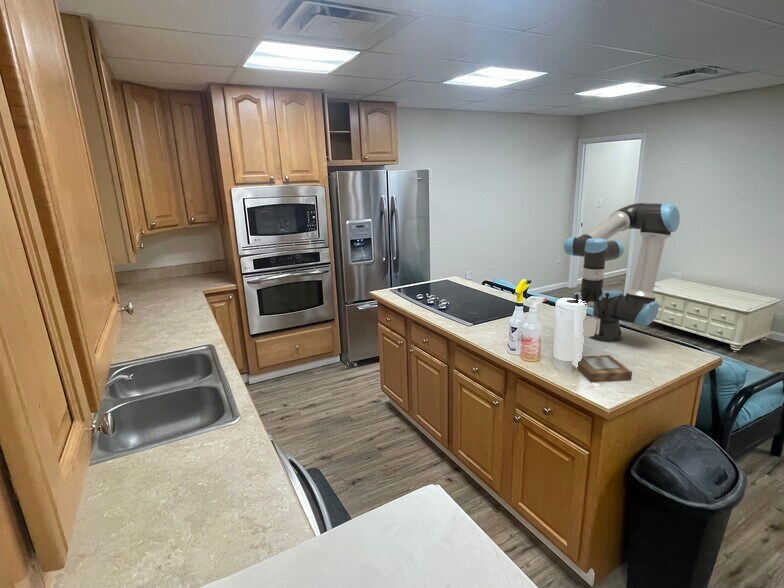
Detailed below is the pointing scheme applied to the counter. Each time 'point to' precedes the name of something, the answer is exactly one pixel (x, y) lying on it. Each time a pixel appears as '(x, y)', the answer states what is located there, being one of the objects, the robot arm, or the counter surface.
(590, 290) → the robot arm
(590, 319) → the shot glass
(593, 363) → the walnut base
